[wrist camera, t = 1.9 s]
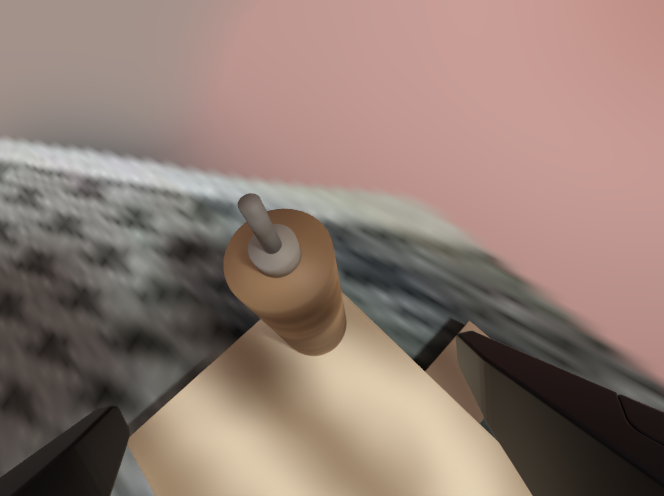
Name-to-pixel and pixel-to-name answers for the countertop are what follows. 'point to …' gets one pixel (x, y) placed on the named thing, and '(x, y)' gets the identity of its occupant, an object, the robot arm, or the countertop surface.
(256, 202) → the awl
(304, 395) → the panel
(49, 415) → the countertop surface
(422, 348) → the countertop surface
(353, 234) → the countertop surface
